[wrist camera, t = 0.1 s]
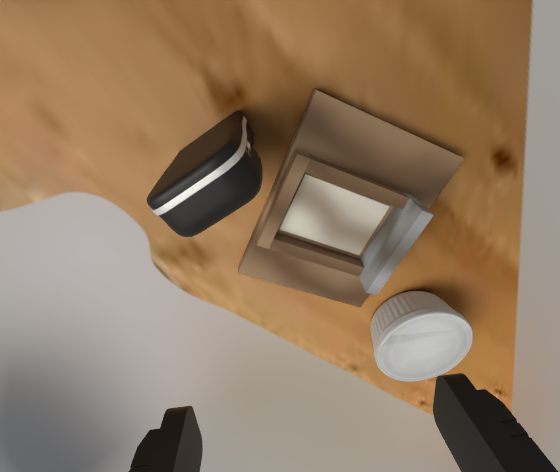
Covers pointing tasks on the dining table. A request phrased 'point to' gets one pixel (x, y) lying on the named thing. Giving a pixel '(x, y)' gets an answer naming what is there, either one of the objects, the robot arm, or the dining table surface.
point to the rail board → (345, 203)
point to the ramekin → (418, 336)
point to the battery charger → (209, 178)
